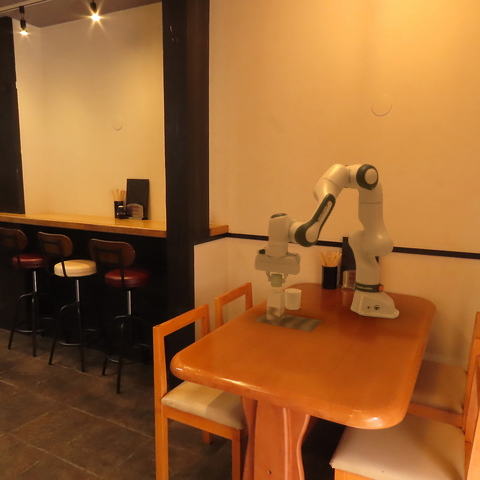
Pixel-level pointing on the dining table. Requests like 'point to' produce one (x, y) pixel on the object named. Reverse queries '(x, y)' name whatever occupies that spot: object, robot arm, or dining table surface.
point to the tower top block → (276, 298)
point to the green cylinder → (276, 280)
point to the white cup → (292, 299)
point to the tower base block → (275, 313)
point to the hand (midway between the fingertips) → (276, 282)
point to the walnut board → (292, 322)
